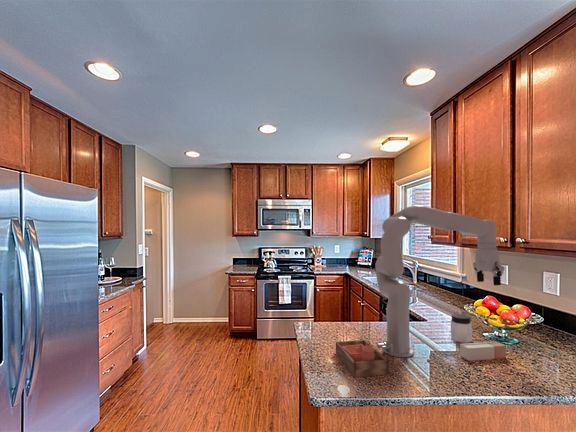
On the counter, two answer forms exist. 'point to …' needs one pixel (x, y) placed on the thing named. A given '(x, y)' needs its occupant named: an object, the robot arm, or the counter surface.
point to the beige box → (477, 351)
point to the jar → (461, 328)
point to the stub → (498, 349)
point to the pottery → (360, 352)
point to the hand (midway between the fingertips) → (488, 283)
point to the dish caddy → (362, 367)
